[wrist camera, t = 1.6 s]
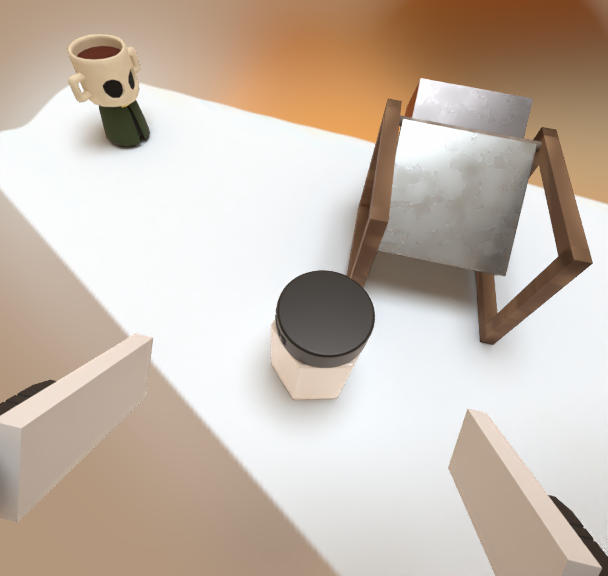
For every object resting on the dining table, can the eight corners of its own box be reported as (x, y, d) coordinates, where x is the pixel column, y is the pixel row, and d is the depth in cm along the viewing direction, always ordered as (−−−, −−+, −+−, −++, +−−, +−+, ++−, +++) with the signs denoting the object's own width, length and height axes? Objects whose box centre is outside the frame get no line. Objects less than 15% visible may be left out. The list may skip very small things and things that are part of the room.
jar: (298, 315, 44) (306, 251, 33) (362, 346, 42) (391, 290, 32) (258, 381, 39) (253, 331, 29) (328, 419, 37) (349, 380, 27)
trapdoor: (510, 126, 47) (548, 95, 39) (475, 275, 48) (505, 276, 40) (398, 105, 47) (413, 71, 39) (366, 253, 48) (374, 249, 40)
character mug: (119, 164, 55) (81, 74, 44) (85, 145, 56) (40, 54, 46) (171, 128, 60) (149, 40, 49) (138, 111, 62) (110, 23, 51)
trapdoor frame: (484, 230, 53) (556, 129, 39) (493, 344, 43) (592, 263, 30) (359, 205, 54) (387, 98, 40) (340, 312, 44) (370, 218, 31)
